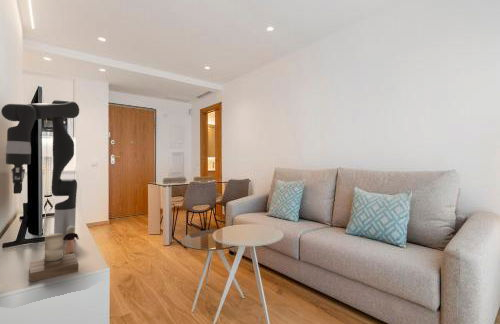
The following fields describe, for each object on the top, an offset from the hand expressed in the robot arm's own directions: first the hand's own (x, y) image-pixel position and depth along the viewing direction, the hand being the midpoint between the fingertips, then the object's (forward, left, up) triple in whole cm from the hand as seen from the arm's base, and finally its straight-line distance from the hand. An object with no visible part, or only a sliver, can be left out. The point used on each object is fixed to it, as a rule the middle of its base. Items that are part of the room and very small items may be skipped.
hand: (17, 192), depth 101 cm
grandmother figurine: (-3, +18, -30) cm, 35 cm away
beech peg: (+16, +11, -29) cm, 35 cm away
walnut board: (+16, +11, -30) cm, 36 cm away
